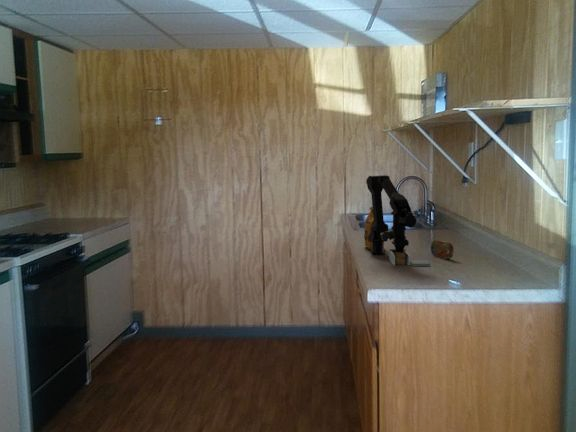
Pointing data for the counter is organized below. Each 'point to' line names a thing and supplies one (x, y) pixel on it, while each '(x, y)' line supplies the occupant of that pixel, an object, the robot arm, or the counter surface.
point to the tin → (442, 249)
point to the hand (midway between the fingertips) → (398, 257)
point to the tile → (419, 263)
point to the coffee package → (369, 229)
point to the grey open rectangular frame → (392, 256)
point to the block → (399, 257)
